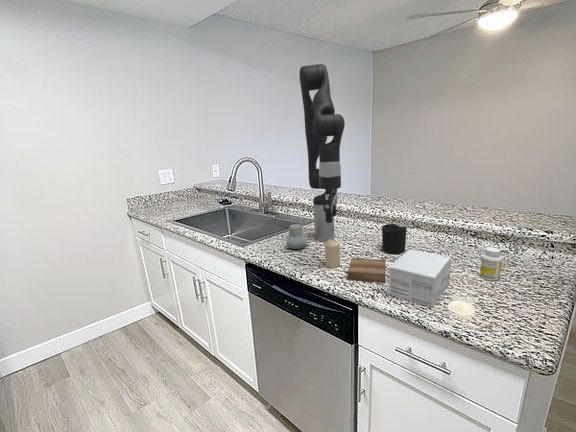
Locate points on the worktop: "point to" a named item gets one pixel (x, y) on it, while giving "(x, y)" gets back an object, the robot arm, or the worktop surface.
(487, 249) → the supplement bottle
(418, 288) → the supplement box
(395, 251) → the pen holder
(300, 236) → the air freshener
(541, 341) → the worktop surface
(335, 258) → the candle
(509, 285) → the worktop surface
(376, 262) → the walnut pedestal
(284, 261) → the worktop surface
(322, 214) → the robot arm
